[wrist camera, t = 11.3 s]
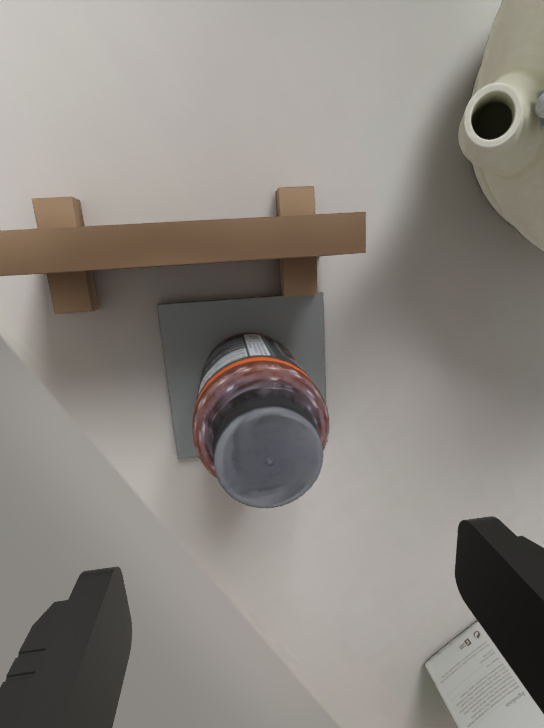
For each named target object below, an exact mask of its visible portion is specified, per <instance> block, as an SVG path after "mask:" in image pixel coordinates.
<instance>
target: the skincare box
mask: <svg viewBox="0 0 544 728" xmlns="http://www.w3.org/2000/svg"><path fill="white" fill-rule="evenodd" d="M425 667H426V669H427V671H428V672H429V674H430V676H431V678H432V680H433V682H434V684H435V685H436V687H437V689H438V691H439V693H440V695H441V697H442V699H443V701H444V702H445V704H446V706H447V708H448V710H449V712H450V714H451V715H452V717H453V719H454V721H455V723H456V725H457V727H458V728H544V714H543V713H542V711H541V710H540V708H539V707H538V706H537V704H536V703H535V701H534V700H533V698H532V697H531V696H530V694H529V693H528V691H527V690H526V688H525V687H524V686H523V684H522V683H521V681H520V680H519V679H518V677H517V676H516V674H515V673H514V671H513V670H512V669H511V667H510V666H509V664H508V663H507V662H506V660H505V659H504V657H503V656H502V654H501V653H500V652H499V650H498V649H497V647H496V646H495V644H494V643H493V642H492V640H491V639H490V637H489V636H488V635H487V633H486V632H485V630H484V629H483V627H482V626H481V625H480V623H479V622H478V621H477V622H476V623H474V624H473V625H471V626H470V627H469V628H467V629H466V630H465V631H464V632H462V633H461V634H460V635H458V636H457V637H456V638H455V639H453V640H452V641H451V642H450V643H448V644H447V645H446V646H445V647H443V648H442V649H441V650H440V651H439V652H437V653H436V654H435V655H434V656H432V657H431V658H430V659H429V660H428V661H427V662H426V663H425Z"/></svg>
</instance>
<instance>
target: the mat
mask: <svg viewBox="0 0 544 728" xmlns="http://www.w3.org/2000/svg"><path fill="white" fill-rule="evenodd" d="M157 308H158V316H159V323H160V330H161V338H162V345H163V353H164V360H165V367H166V375H167V382H168V390H169V397H170V404H171V412H172V419H173V426H174V434H175V441H176V449H177V456H178V459H182V458H191V457H199V456H198V453H197V451H196V448H195V445H194V441H193V432H192V421H193V414H194V408H195V403H196V398H197V393H198V388H199V383H200V379H201V373H202V370H203V367H204V364H205V361H206V359H207V358H208V356H209V354H210V353H211V352H212V350H213V349H214V348H215V347H216V346H217V345H218V344H219V343H220V342H222V341H223V340H225V339H227V338H229V337H231V336H233V335H236V334H241V333H259V334H263V335H267V336H269V337H271V338H273V339H275V340H277V341H278V342H279V343H281V344H282V345H283V346H284V347H285V348H286V349H287V350H288V351H289V352H290V353H291V355H292V356H293V357H294V359H295V360H296V361H297V363H298V364H299V365H300V366H301V367H302V368H303V370H304V371H305V372H306V374H307V375H308V376H309V377H310V379H311V380H312V382H313V383H314V384H315V385H316V387H317V388H318V389H319V391H320V393H321V395H322V396H323V399H324V401H325V404H326V376H325V341H324V305H323V293H321V292H320V293H317V295H303V296H289V297H284V296H282V295H279V296H265V297H252V298H238V299H224V300H211V301H197V302H183V303H170V304H158V305H157Z"/></svg>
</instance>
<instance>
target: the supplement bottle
mask: <svg viewBox="0 0 544 728" xmlns="http://www.w3.org/2000/svg"><path fill="white" fill-rule="evenodd" d="M192 432H193V441H194V445H195V448H196V451H197V453H198V456H199V458H200V459H201V461H202V463H203V464H204V466H205V467H206V468H207V470H208V471H210V473H211V474H212V475H213V476H215V477H216V478H217V479H218V481H219V483H220V484H221V486H222V487H223V488H224V490H225V491H226V492H227V493H228V494H229V495H230V496H231V497H232V498H234V499H235V500H237V501H239V502H241V503H243V504H246V505H248V506H252V507H258V508H273V507H278V506H283V505H285V504H288V503H290V502H292V501H294V500H296V499H298V498H299V497H300V496H302V495H303V494H304V493H305V492H306V491H308V490H309V489H310V488H311V486H312V485H313V483H314V482H315V481H316V479H317V477H318V475H319V473H320V470H321V467H322V462H323V450H324V448H325V445H326V442H327V437H328V433H329V417H328V409H327V406H326V404H325V401H324V399H323V396H322V395H321V393H320V391H319V389H318V388H317V387H316V385H315V384H314V383H313V382H312V380H311V379H310V377H309V376H308V375H307V374H306V372H305V371H304V370H303V368H302V367H301V366H300V365H299V364H298V363H297V361H296V360H295V359H294V357H293V356H292V355H291V353H290V352H289V351H288V350H287V349H286V348H285V347H284V346H283V345H282V344H281V343H279V342H278V341H277V340H275V339H273V338H271V337H269V336H267V335H263V334H259V333H241V334H236V335H233V336H231V337H229V338H227V339H225V340H223V341H222V342H220V343H219V344H218V345H217V346H216V347H215V348H214V349H213V350H212V352H211V353H210V354H209V356H208V358H207V359H206V361H205V364H204V367H203V370H202V373H201V379H200V383H199V388H198V393H197V398H196V403H195V408H194V414H193V421H192Z"/></svg>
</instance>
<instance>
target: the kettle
mask: <svg viewBox="0 0 544 728" xmlns="http://www.w3.org/2000/svg"><path fill="white" fill-rule="evenodd" d="M458 140H459V145H460V148H461V150H462V152H463V154H464V156H465V157H466V158H467V159H468V160H469V161H470V162H472V164H473V168H474V172H475V175H476V178H477V180H478V182H479V185H480V187H481V189H482V191H483V193H484V195H485V196H486V198H487V199H488V201H489V202H490V204H491V205H492V206H493V208H494V209H495V210H496V211H497V212H498V213H499V214H500V215H501V216H502V217H503V218H504V219H505V220H506V221H507V222H509V223H510V224H511V225H513V226H514V227H515V228H516V229H517V230H518V231H519V232H520V233H521V234H522V235H523V236H524V237H525V238H526V239H527V240H528V241H530V242H531V243H532V244H533V245H535V246H536V247H537V248H539V249H540V250H542V251H543V252H544V0H502V2H501V5H500V8H499V10H498V13H497V15H496V18H495V20H494V23H493V26H492V29H491V32H490V35H489V38H488V42H487V45H486V49H485V53H484V56H483V60H482V64H481V67H480V69H479V72H478V75H477V78H476V81H475V85H474V88H473V93H472V97H471V99H470V101H469V102H468V104H467V106H466V109H465V112H464V115H463V117H462V120H461V122H460V126H459V132H458Z"/></svg>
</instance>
